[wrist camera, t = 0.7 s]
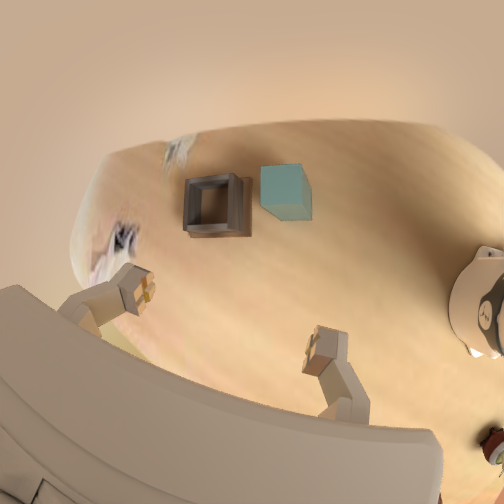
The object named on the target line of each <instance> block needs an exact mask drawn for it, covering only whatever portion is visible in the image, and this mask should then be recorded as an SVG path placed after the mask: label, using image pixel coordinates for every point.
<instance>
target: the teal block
mask: <svg viewBox="0 0 504 504" xmlns="http://www.w3.org/2000/svg"><path fill="white" fill-rule="evenodd" d="M260 205H261V206H262V207H263V208H265V209H266V210H267V211H269V212H270V213H271V214H273V215H274V216H275V217H277V218H278V219H279V220H281V221H294V220H312V196H311V188H310V185H309V183H308V180H307V177H306V175H305V173H304V170H303V168H302V165H301V164H285V165H272V166H261V193H260Z"/></svg>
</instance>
